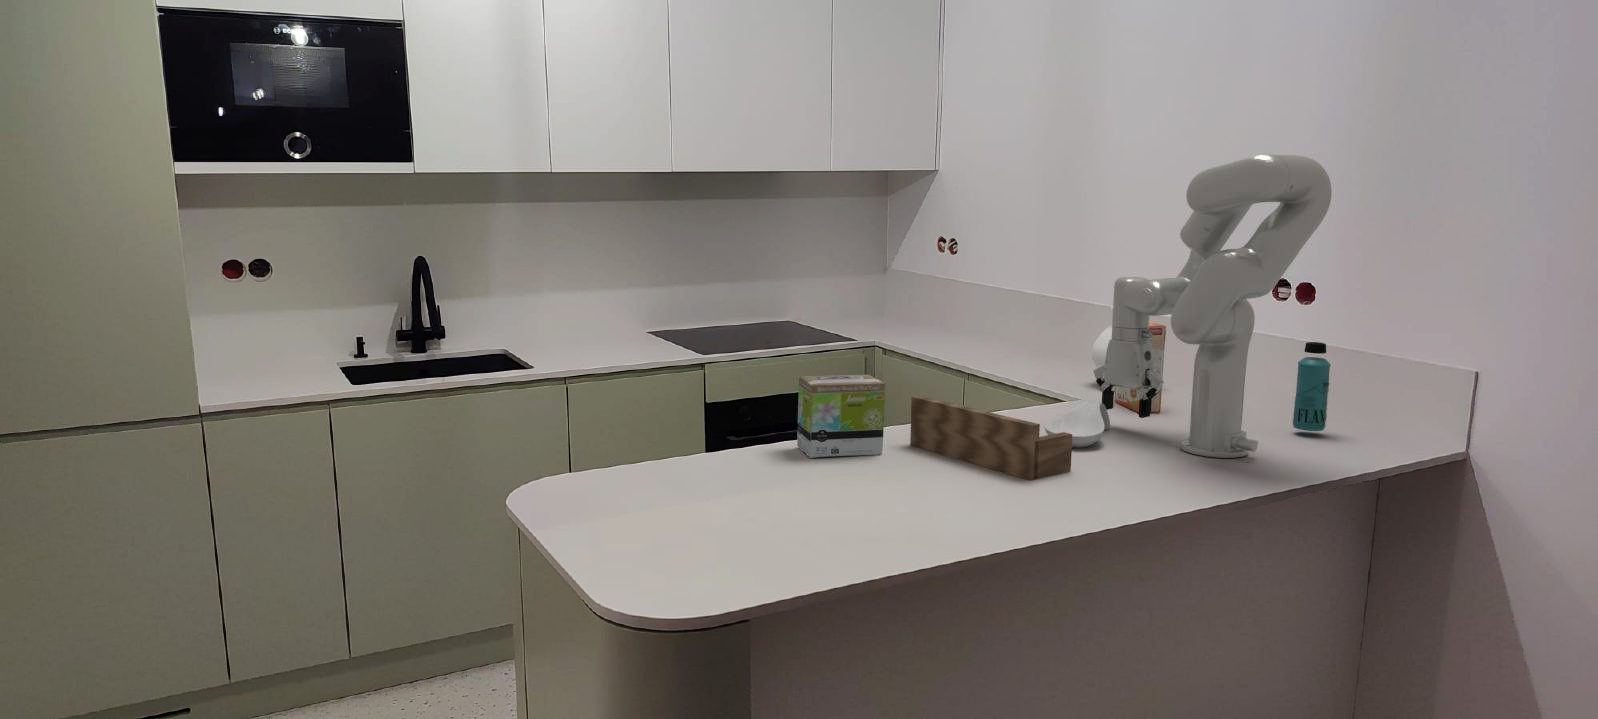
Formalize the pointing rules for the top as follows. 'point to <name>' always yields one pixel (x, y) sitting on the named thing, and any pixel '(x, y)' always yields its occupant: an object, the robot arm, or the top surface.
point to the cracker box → (1132, 396)
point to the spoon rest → (1081, 423)
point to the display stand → (988, 439)
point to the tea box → (840, 415)
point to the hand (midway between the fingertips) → (1125, 413)
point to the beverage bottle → (1312, 390)
